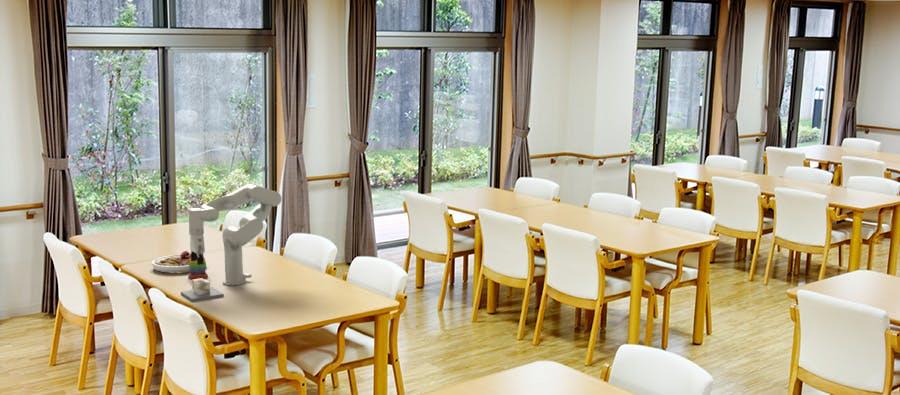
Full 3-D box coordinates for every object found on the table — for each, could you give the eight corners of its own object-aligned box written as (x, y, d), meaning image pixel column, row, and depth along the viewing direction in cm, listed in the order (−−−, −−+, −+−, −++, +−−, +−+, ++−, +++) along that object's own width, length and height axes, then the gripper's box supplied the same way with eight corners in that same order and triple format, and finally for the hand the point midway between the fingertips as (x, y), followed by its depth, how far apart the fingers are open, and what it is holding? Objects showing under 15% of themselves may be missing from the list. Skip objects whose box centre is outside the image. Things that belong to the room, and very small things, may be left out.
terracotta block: (202, 287, 507) (201, 278, 507) (205, 289, 503) (205, 280, 502) (192, 288, 504) (192, 279, 503) (196, 290, 500) (195, 281, 499)
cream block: (205, 290, 495) (205, 279, 494) (210, 293, 489) (209, 282, 488) (193, 292, 491) (193, 281, 490) (198, 295, 486) (197, 283, 485)
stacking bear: (188, 279, 522) (186, 248, 519) (188, 275, 532) (186, 244, 529) (208, 278, 525) (206, 247, 522) (207, 273, 535) (206, 243, 532)
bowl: (197, 275, 533) (197, 261, 532) (145, 274, 533) (144, 261, 532) (211, 262, 563) (210, 249, 561) (161, 262, 563) (161, 249, 561)
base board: (211, 289, 502) (211, 286, 502) (223, 296, 488) (223, 293, 488) (180, 294, 492) (180, 291, 492) (192, 301, 479) (191, 298, 478)
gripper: (209, 233, 493) (209, 265, 496) (197, 228, 507) (198, 258, 510) (195, 234, 489) (196, 266, 492) (184, 229, 503) (184, 260, 506)
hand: (197, 262), depth 501 cm, fingers open, 9 cm apart
